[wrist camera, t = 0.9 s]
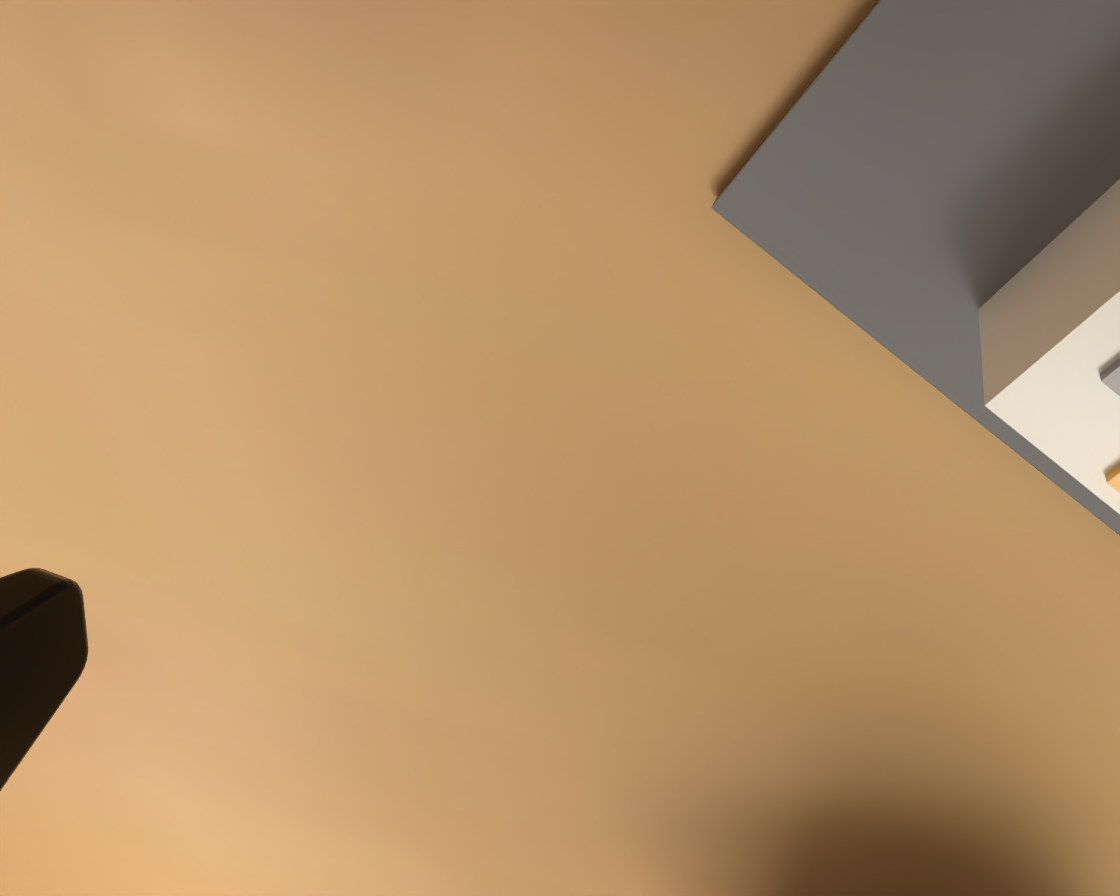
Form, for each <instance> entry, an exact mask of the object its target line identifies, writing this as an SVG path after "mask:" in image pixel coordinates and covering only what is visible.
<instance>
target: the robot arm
mask: <svg viewBox="0 0 1120 896" xmlns="http://www.w3.org/2000/svg"><path fill="white" fill-rule="evenodd" d="M87 656H88V640H87V630H86V620H85V610H84V601H83V594H82V590H81V588H80V587H79V585H78V584H77V583H76V582H75V581H73V580H71V579H69V578H66V577H63V576H60V575H58V574H55V573H52V572H49V571H47V570H44V569H40V568H30V569H25V570H21V571H18V572H15V573H12V574H10V575H7V576H4V577H1V578H0V791H1V789H2V788H3V787H4V785H5V784H6V782H7V781H8V779H9V778H10V777H11V775H12V774H13V772H14V771H15V769H16V768H17V766H18V765H19V764H20V762H21V761H22V759H23V758H24V756H25V755H26V754H27V752H28V751H29V749H30V748H31V746H32V745H33V744H34V742H35V741H36V739H37V738H38V736H39V735H40V733H41V732H42V731H43V729H44V728H45V726H46V725H47V723H48V722H49V721H50V719H51V718H52V716H53V715H54V713H55V712H56V711H57V709H58V708H59V706H60V705H61V703H62V702H63V701H64V699H65V698H66V696H67V695H68V693H69V692H70V690H71V689H72V688H73V686H74V685H75V683H76V682H77V680H78V679H79V677H80V675H81V673H82V671H83V669H84V667H85V664H86V661H87Z"/></svg>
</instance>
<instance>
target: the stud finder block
mask: <svg viewBox="0 0 1120 896" xmlns="http://www.w3.org/2000/svg"><path fill="white" fill-rule="evenodd" d="M978 313H979V328H980V343H981V358H982V373H983V388H984V403H985V406H986V407H987V408H988V409H989V410H991V411H992V412H993V413H994V414H996V415H997V416H998V417H999V418H1001V419H1002V420H1003V421H1004V422H1006V423H1007V424H1008V425H1009V426H1010V427H1012V428H1013V429H1014V430H1015V431H1017V432H1018V433H1019V434H1020V435H1022V436H1023V437H1024V438H1025V439H1027V440H1028V441H1029V442H1030V443H1032V444H1033V445H1034V446H1035V447H1037V448H1038V449H1039V450H1040V451H1042V452H1043V453H1044V454H1045V455H1047V456H1048V457H1049V458H1050V459H1051V460H1053V461H1054V462H1055V463H1056V464H1058V465H1059V466H1060V467H1061V468H1063V469H1064V470H1065V471H1066V472H1068V473H1069V474H1070V475H1071V476H1073V477H1074V478H1075V479H1076V480H1078V481H1079V482H1080V483H1081V484H1083V485H1084V486H1085V487H1086V488H1088V489H1089V490H1090V491H1091V492H1093V493H1094V494H1095V495H1096V496H1097V497H1099V498H1100V499H1101V500H1102V501H1104V502H1105V503H1106V504H1107V505H1109V506H1110V507H1111V508H1112V509H1114V510H1115V511H1116V512H1117V513H1119V514H1120V179H1119V180H1118V181H1117V182H1116V183H1115V184H1114V185H1113V186H1112V187H1110V188H1109V189H1108V190H1107V191H1106V192H1105V193H1104V194H1103V195H1102V196H1101V197H1100V198H1098V199H1097V200H1096V201H1095V202H1094V203H1093V204H1092V205H1091V206H1090V207H1089V208H1088V209H1087V210H1085V211H1084V212H1083V213H1082V214H1081V215H1080V216H1079V217H1078V218H1077V219H1076V220H1075V221H1074V222H1072V223H1071V224H1070V225H1069V226H1068V227H1067V228H1066V229H1065V230H1064V231H1063V232H1062V233H1060V234H1059V235H1058V236H1057V237H1056V238H1055V239H1054V240H1053V241H1052V242H1051V243H1050V244H1049V245H1047V246H1046V247H1045V248H1044V249H1043V250H1042V251H1041V252H1040V253H1039V254H1038V255H1037V256H1036V257H1034V258H1033V259H1032V260H1031V261H1030V262H1029V263H1028V264H1027V265H1026V266H1025V267H1024V268H1022V269H1021V270H1020V271H1019V272H1018V273H1017V274H1016V275H1015V276H1014V277H1013V278H1012V279H1011V280H1009V281H1008V282H1007V283H1006V284H1005V285H1004V286H1003V287H1002V288H1001V289H1000V290H999V291H998V292H996V293H995V294H994V295H993V296H992V297H991V298H990V299H989V300H988V301H987V302H986V303H984V304H983V305H982V306H981V307H980V308H979V309H978Z"/></svg>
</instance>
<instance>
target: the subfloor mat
mask: <svg viewBox="0 0 1120 896" xmlns="http://www.w3.org/2000/svg"><path fill="white" fill-rule="evenodd" d="M1119 179H1120V0H879V1H878V2H877V3H876V5H875V6H874V7H873V8H872V9H871V11H870V12H869V13H868V14H867V16H866V17H865V18H864V19H863V20H862V22H861V23H860V24H859V25H858V27H857V28H856V29H855V30H854V31H853V33H852V34H851V35H850V36H849V38H848V39H847V40H846V41H845V42H844V44H843V45H842V46H841V47H840V49H839V50H838V51H837V52H836V53H835V55H834V56H833V57H832V58H831V60H830V61H829V62H828V63H827V64H826V66H825V67H824V68H823V69H822V71H821V72H820V73H819V74H818V75H817V77H816V78H815V79H814V80H813V82H812V83H811V84H810V85H809V86H808V88H807V89H806V90H805V91H804V93H803V94H802V95H801V96H800V97H799V99H798V100H797V101H796V102H795V104H794V105H793V106H792V107H791V108H790V110H789V111H788V112H787V113H786V114H785V116H784V117H783V118H782V119H781V121H780V122H779V123H778V124H777V125H776V127H775V128H774V129H773V130H772V132H771V133H770V134H769V135H768V136H767V138H766V139H765V140H764V141H763V143H762V144H761V145H760V146H759V147H758V149H757V150H756V151H755V152H754V154H753V155H752V156H751V157H750V158H749V160H748V161H747V162H746V163H745V165H744V166H743V167H742V168H741V169H740V171H739V172H738V173H737V174H736V176H735V177H734V178H733V179H732V180H731V182H730V183H729V184H728V185H727V187H726V188H725V189H724V190H723V191H722V193H721V194H720V195H719V196H718V198H717V199H716V200H715V202H714V204H713V206H712V207H711V208H712V209H714V210H715V211H716V212H717V213H719V214H720V215H721V216H722V217H724V218H725V219H726V220H727V221H728V222H730V223H731V224H732V225H733V226H735V227H736V228H737V229H738V230H740V231H741V232H742V233H743V234H745V235H746V236H747V237H748V238H750V239H751V240H752V241H753V242H755V243H756V244H757V245H758V246H760V247H761V248H762V249H763V250H765V251H766V252H767V253H768V254H770V255H771V256H772V257H773V258H775V259H776V260H777V261H778V262H780V263H781V264H782V265H783V266H785V267H786V268H787V269H788V270H790V271H791V272H792V273H793V274H795V275H796V276H797V277H798V278H800V279H801V280H802V281H803V282H805V283H806V284H807V285H808V286H809V287H811V288H812V289H813V290H814V291H816V292H817V293H818V294H819V295H821V296H822V297H823V298H824V299H826V300H827V301H828V302H829V303H831V304H832V305H833V306H834V307H836V308H837V309H838V310H839V311H841V312H842V313H843V314H844V315H846V316H847V317H848V318H849V319H851V320H852V321H853V322H854V323H856V324H857V325H858V326H859V327H861V328H862V329H863V330H864V331H866V332H867V333H868V334H869V335H871V336H872V337H873V338H874V339H876V340H877V341H878V342H879V343H881V344H882V345H883V346H884V347H886V348H887V349H888V350H889V351H890V352H892V353H893V354H894V355H895V356H897V357H898V358H899V359H900V360H902V361H903V362H904V363H905V364H907V365H908V366H909V367H910V368H912V369H913V370H914V371H915V372H917V373H918V374H919V375H920V376H922V377H923V378H924V379H925V380H927V381H928V382H929V383H930V384H932V385H933V386H934V387H935V388H937V389H938V390H939V391H940V392H942V393H943V394H944V395H945V396H947V397H948V398H949V399H950V400H952V401H953V402H954V403H955V404H957V405H958V406H959V407H960V408H962V409H963V410H964V411H965V412H967V413H968V414H969V415H970V416H971V417H973V418H974V419H975V420H976V421H978V422H979V423H980V424H981V425H983V426H984V427H985V428H986V429H988V430H989V431H990V432H991V433H993V434H994V435H995V436H996V437H998V438H999V439H1000V440H1001V441H1003V442H1004V443H1005V444H1006V445H1008V446H1009V447H1010V448H1011V449H1013V450H1014V451H1015V452H1016V453H1018V454H1019V455H1020V456H1021V457H1023V458H1024V459H1025V460H1026V461H1028V462H1029V463H1030V464H1031V465H1033V466H1034V467H1035V468H1036V469H1038V470H1039V471H1040V472H1041V473H1043V474H1044V475H1045V476H1046V477H1048V478H1049V479H1050V480H1051V481H1052V482H1054V483H1055V484H1056V485H1057V486H1059V487H1060V488H1061V489H1062V490H1064V491H1065V492H1066V493H1067V494H1069V495H1070V496H1071V497H1072V498H1074V499H1075V500H1076V501H1077V502H1079V503H1080V504H1081V505H1082V506H1084V507H1085V508H1086V509H1087V510H1089V511H1090V512H1091V513H1092V514H1094V515H1095V516H1096V517H1097V518H1099V519H1100V520H1101V521H1102V522H1104V523H1105V524H1106V525H1107V526H1109V527H1110V528H1111V529H1112V530H1114V531H1115V532H1116V533H1117V534H1119V535H1120V514H1119V513H1117V512H1116V511H1115V510H1114V509H1112V508H1111V507H1110V506H1109V505H1107V504H1106V503H1105V502H1104V501H1102V500H1101V499H1100V498H1099V497H1097V496H1096V495H1095V494H1094V493H1093V492H1091V491H1090V490H1089V489H1088V488H1086V487H1085V486H1084V485H1083V484H1081V483H1080V482H1079V481H1078V480H1076V479H1075V478H1074V477H1073V476H1071V475H1070V474H1069V473H1068V472H1066V471H1065V470H1064V469H1063V468H1061V467H1060V466H1059V465H1058V464H1056V463H1055V462H1054V461H1053V460H1051V459H1050V458H1049V457H1048V456H1047V455H1045V454H1044V453H1043V452H1042V451H1040V450H1039V449H1038V448H1037V447H1035V446H1034V445H1033V444H1032V443H1030V442H1029V441H1028V440H1027V439H1025V438H1024V437H1023V436H1022V435H1020V434H1019V433H1018V432H1017V431H1015V430H1014V429H1013V428H1012V427H1010V426H1009V425H1008V424H1007V423H1006V422H1004V421H1003V420H1002V419H1001V418H999V417H998V416H997V415H996V414H994V413H993V412H992V411H991V410H989V409H988V408H987V407H986V406H985V403H984V388H983V373H982V358H981V343H980V328H979V313H978V309H979V308H980V307H981V306H982V305H983V304H984V303H986V302H987V301H988V300H989V299H990V298H991V297H992V296H993V295H994V294H995V293H996V292H998V291H999V290H1000V289H1001V288H1002V287H1003V286H1004V285H1005V284H1006V283H1007V282H1008V281H1009V280H1011V279H1012V278H1013V277H1014V276H1015V275H1016V274H1017V273H1018V272H1019V271H1020V270H1021V269H1022V268H1024V267H1025V266H1026V265H1027V264H1028V263H1029V262H1030V261H1031V260H1032V259H1033V258H1034V257H1036V256H1037V255H1038V254H1039V253H1040V252H1041V251H1042V250H1043V249H1044V248H1045V247H1046V246H1047V245H1049V244H1050V243H1051V242H1052V241H1053V240H1054V239H1055V238H1056V237H1057V236H1058V235H1059V234H1060V233H1062V232H1063V231H1064V230H1065V229H1066V228H1067V227H1068V226H1069V225H1070V224H1071V223H1072V222H1074V221H1075V220H1076V219H1077V218H1078V217H1079V216H1080V215H1081V214H1082V213H1083V212H1084V211H1085V210H1087V209H1088V208H1089V207H1090V206H1091V205H1092V204H1093V203H1094V202H1095V201H1096V200H1097V199H1098V198H1100V197H1101V196H1102V195H1103V194H1104V193H1105V192H1106V191H1107V190H1108V189H1109V188H1110V187H1112V186H1113V185H1114V184H1115V183H1116V182H1117V181H1118V180H1119Z"/></svg>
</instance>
